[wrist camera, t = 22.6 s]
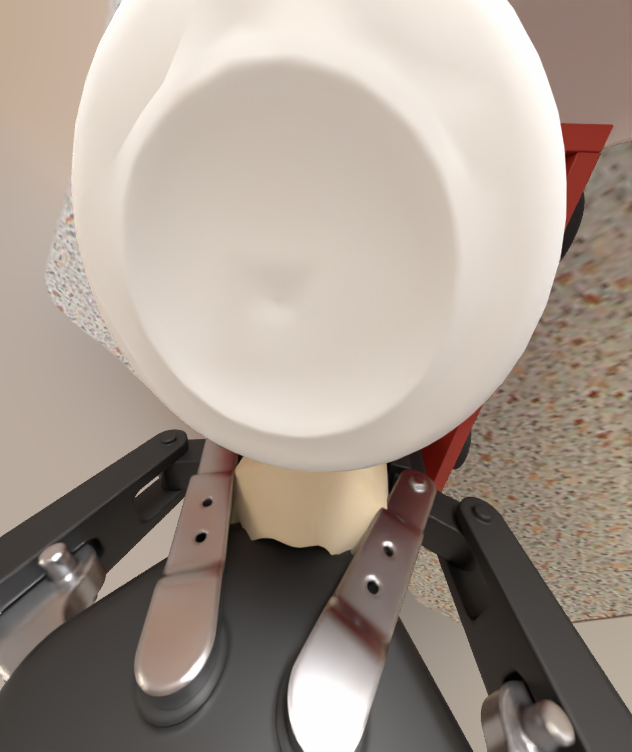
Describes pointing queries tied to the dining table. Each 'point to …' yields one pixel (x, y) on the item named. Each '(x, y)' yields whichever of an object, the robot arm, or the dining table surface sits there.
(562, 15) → the rocket engine
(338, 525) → the candle
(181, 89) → the sprinkles bottle
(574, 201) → the cart
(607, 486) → the dining table surface
